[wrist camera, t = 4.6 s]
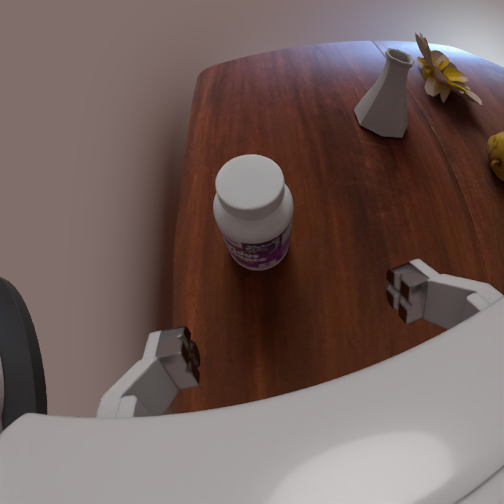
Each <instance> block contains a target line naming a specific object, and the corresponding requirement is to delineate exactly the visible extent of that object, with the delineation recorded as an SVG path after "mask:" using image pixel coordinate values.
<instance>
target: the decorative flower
mask: <svg viewBox="0 0 504 504" xmlns="http://www.w3.org/2000/svg"><path fill="white" fill-rule="evenodd" d="M415 36H416V41H417V44H418V46H419V49H420V51H421V53H422V55H423V56H424V58H421V57H419V58H418V59H417V61H418V63H419V64H420V66H422V67H423V68H422V76H423V79H424V80H425V81H426V83H425V91H426V92H427V94H429V95H431V96H436V95H437V94H439V93H441V100H442V102H443V103H444V102H445V100H446V99H447V97H448V95H449V93H450V91H451V90H452V91H453V92H455V93H457V94H458V95H460V96H462V97H464V98H466V99H468V100H470V101H472V102H475V103H478V104H480V105H482V103H481V100H480V99H479V97H478V96H477V95H475V94H474V93H472V92H471V91H469V90H470V89H469V87H468V86H466V85H465V84H464V83H462V82H467V81H468V79H467V78H466V76H465V75H464V74H463V73H461V72H460V71H458V70H457V68H456V66H455V65H454V64H453V63H451V62H449V59H448V58H447V57H446V56H445V55H444V54H443V53H441V52H440V51H435V50H434V51H431V50H430V48H429V46H428V43H427V40H426V38H424V39H423V36H422V34H421V33H420V37H419V36H418V35H417V34H415ZM463 87H464V88H463ZM465 88H467V89H469V90H467V89H465ZM452 91H451V92H452Z"/></svg>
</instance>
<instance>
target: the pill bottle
mask: <svg viewBox="0 0 504 504" xmlns="http://www.w3.org/2000/svg"><path fill="white" fill-rule="evenodd" d="M215 185H216V192H217V193H216V196H215V199H214V204H213V211H214V217H215V220H216V222H217V225H218V227H219V230H220V232H221V234H222V236H223V239H224V241H225V243H226V245H227V247H228V250H229V252H230V254H231V256H232V257H233V258H234V260H235V261H236V262H237V263H238V264H240V265H241V266H243V267H245V268H247V269H250V270H266V269H269V268H271V267H273V266H275V265H277V264H278V263H279V262H280V261H281V260H282V259H283V258H284V256H285V255H286V253H287V251H288V247H289V241H290V234H291V224H292V216H293V199H292V195H291V193H290V191H289V189H288V187H287V186H286V185H285V183H284V177H283V173H282V171H281V169H280V168H279V166H278V165H277V164H276V163H275V162H274V161H272V160H270V159H269V158H266V157H264V156H260V155H243V156H239V157H236V158H234V159H232V160H230V161H229V162H227V163H226V164H225V165H224V166H223V167H222V168H221V169H220V171H219V173H218V175H217V177H216V183H215Z"/></svg>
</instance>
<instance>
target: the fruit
mask: <svg viewBox="0 0 504 504" xmlns="http://www.w3.org/2000/svg"><path fill="white" fill-rule="evenodd" d="M486 150H487V154H488V159H489V163H490V168H491V169H492V170H493V171H494V173H495V175H496V176H497V177H498V178H499V179H501V180H502V181H504V132H500V133H498V134H496V135H493V136H491V137H490V138H489V140H488V143H487V147H486Z"/></svg>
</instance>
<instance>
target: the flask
mask: <svg viewBox="0 0 504 504" xmlns="http://www.w3.org/2000/svg"><path fill="white" fill-rule="evenodd" d="M386 57H387V61H386V64H385V67H384V69H383V71H382V73H381V75H380V77H379V78H378V80H377V81H376V82H375V84H374V85H373V86H372V87H371V88H370V90H369V91H368V92H367V93H366V94H365V95H364V97H363V98H362V99H361V101H360V102H359V103H358V105H357V106H356V107H355V109H354V112H355V114H356V116H357V119H358V121H359V124H360V125H361V126H363V127H365V128H367V129H369V130H371V131H373V132H375V133H376V134H378V135H380V136H386V137H400V138H402V137H403V135H404V132H405V130H406V128H407V102H406V82H407V74H408V70H409V68H411V67H412V65H413V63H414V60H413V59H412V58H411V56H410V55H408V54H406V53H404V52H402V51H399V50H395V49H390V48H388V50H387V51H386Z"/></svg>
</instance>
